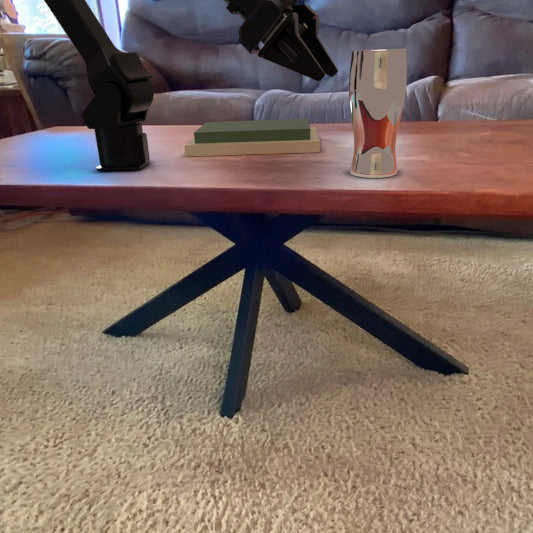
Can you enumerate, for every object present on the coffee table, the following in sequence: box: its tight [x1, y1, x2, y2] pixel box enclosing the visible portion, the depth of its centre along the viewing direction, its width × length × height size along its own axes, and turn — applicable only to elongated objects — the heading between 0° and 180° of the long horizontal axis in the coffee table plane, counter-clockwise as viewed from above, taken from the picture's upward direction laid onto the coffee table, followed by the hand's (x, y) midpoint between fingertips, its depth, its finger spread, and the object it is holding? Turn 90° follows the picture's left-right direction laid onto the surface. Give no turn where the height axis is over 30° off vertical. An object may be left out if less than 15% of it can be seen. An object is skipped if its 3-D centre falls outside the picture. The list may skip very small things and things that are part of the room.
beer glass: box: [348, 48, 408, 179], centre depth 64 cm, size 7×7×15 cm
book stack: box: [183, 118, 321, 158], centre depth 89 cm, size 22×16×4 cm
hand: (329, 76), depth 64 cm, fingers open, 9 cm apart
